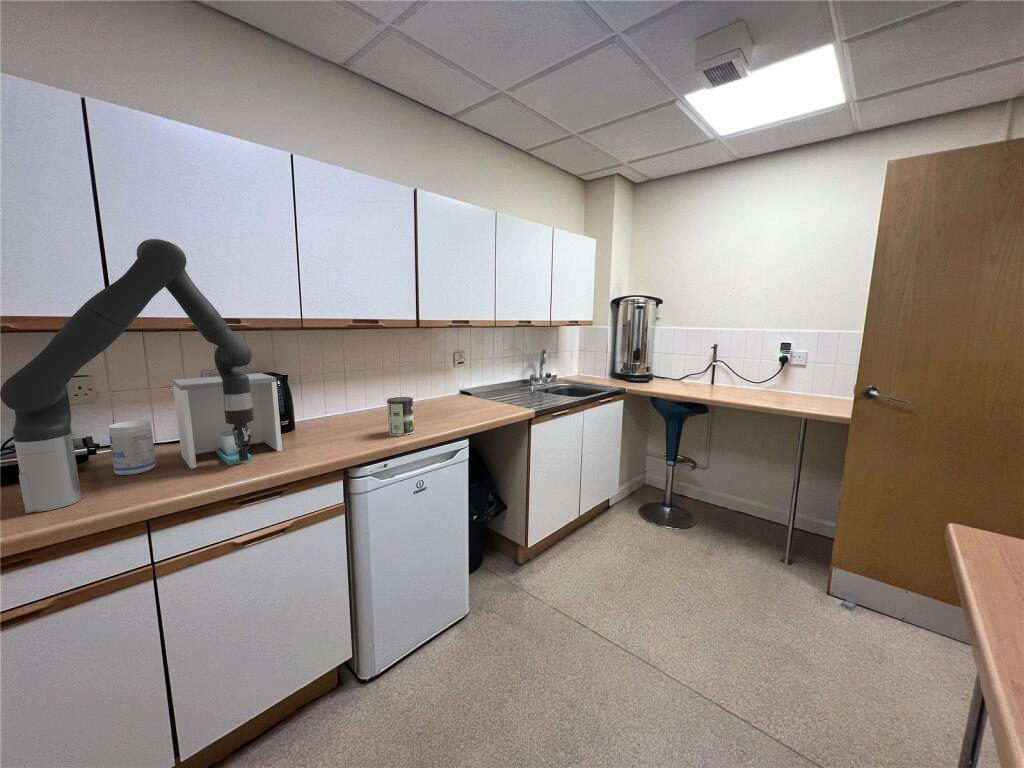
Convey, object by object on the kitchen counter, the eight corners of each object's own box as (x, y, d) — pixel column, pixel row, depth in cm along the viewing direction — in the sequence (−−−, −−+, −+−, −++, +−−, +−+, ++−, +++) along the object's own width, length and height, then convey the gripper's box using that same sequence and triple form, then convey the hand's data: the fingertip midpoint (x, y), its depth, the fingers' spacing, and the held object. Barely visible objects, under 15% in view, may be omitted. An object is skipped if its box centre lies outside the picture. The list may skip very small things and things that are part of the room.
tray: (251, 461, 136) (249, 439, 134) (228, 466, 131) (226, 443, 130) (237, 449, 148) (235, 429, 147) (216, 453, 143) (213, 432, 142)
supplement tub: (105, 475, 123) (98, 426, 121) (138, 464, 132) (131, 419, 130) (133, 476, 121) (127, 428, 119) (164, 465, 131) (158, 420, 129)
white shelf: (190, 468, 128) (180, 385, 124) (181, 455, 141) (172, 379, 137) (282, 450, 146) (276, 377, 143) (267, 440, 159) (261, 373, 155)
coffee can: (412, 428, 176) (411, 396, 174) (416, 434, 167) (414, 400, 165) (387, 431, 172) (385, 397, 170) (389, 437, 163) (388, 402, 161)
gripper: (258, 408, 128) (263, 462, 131) (246, 402, 138) (251, 453, 140) (229, 412, 123) (235, 468, 126) (219, 406, 132) (225, 458, 135)
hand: (243, 460), depth 133 cm, fingers closed
